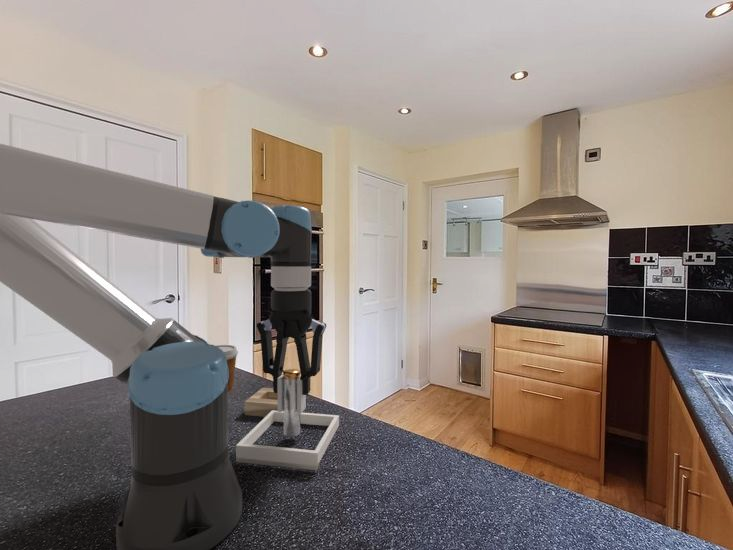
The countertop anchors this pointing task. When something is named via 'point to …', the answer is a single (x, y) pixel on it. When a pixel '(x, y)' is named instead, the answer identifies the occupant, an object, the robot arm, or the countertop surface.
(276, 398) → the socket block
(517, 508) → the countertop surface
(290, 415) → the pin
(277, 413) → the rectangular frame
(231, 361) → the disposable coffee cup
